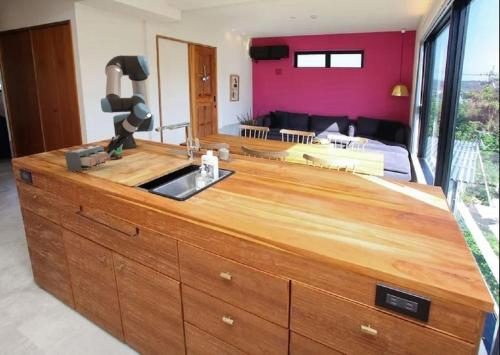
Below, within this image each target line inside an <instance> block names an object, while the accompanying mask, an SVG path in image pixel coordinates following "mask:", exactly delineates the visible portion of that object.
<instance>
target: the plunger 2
mask: <svg viewBox="0 0 500 355" xmlns="http://www.w3.org/2000/svg"><path fill="white" fill-rule="evenodd" d="M97 153H98V155H104V154H105V153H106V151H104V152H97ZM104 159H105V160H107V159H108V158H106V157H105V156H104Z"/></svg>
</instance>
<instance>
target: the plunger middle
mask: <svg viewBox="0 0 500 355" xmlns="http://www.w3.org/2000/svg"><path fill="white" fill-rule="evenodd" d="M89 157H92V158H95V160H96V163H99V164H102V163H101V162H104V155H96V154H91V155H89Z"/></svg>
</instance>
